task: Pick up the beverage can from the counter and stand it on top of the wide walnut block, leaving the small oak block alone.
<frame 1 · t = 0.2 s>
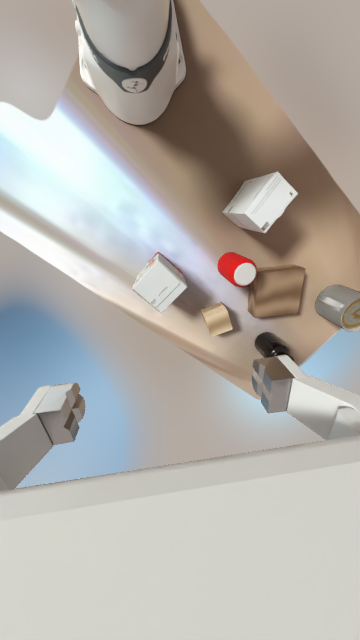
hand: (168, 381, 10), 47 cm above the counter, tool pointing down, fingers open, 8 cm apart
skincare box: (241, 206, 51), on the counter
oak block: (213, 314, 62), on the counter
beverage can: (227, 263, 56), on the counter
coffee mug: (327, 298, 63), on the counter
ink box: (159, 274, 56), on the counter
supplement bottle: (264, 340, 68), on the counter
walnut block: (269, 288, 60), on the counter
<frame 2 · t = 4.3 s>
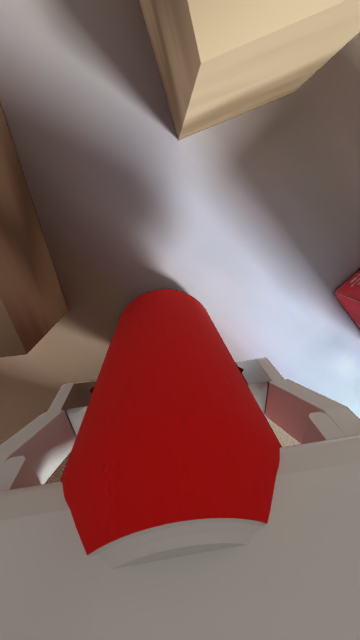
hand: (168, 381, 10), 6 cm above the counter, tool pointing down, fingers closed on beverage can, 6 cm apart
oak block: (219, 32, 9), on the counter
beverage can: (164, 325, 15), on the counter, touching gripper
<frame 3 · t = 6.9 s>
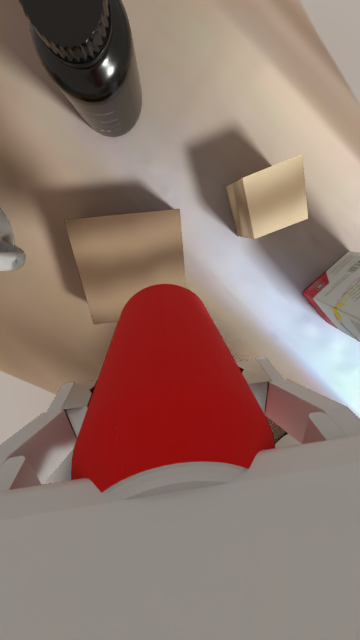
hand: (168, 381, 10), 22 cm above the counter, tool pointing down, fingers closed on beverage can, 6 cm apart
oak block: (254, 203, 28), on the counter
beverage can: (164, 318, 16), point 16 cm above the counter, touching gripper
ink box: (337, 289, 34), on the counter
supplement bottle: (109, 99, 23), on the counter
walnut block: (137, 264, 29), on the counter
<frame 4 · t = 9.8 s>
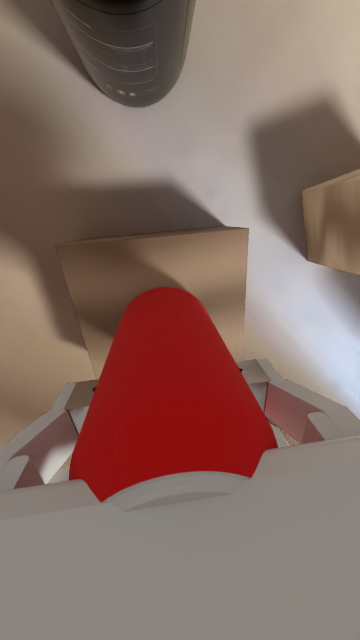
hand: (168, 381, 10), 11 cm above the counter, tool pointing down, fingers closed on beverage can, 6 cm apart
oak block: (337, 215, 19), on the counter
beverage can: (164, 322, 16), point 5 cm above the counter, touching gripper, walnut block
supplement bottle: (131, 42, 13), on the counter
walnut block: (163, 300, 20), on the counter
when the fingers open (11 cm above the counter, at t = 10.2 s): beverage can stays where it is, resting on walnut block.
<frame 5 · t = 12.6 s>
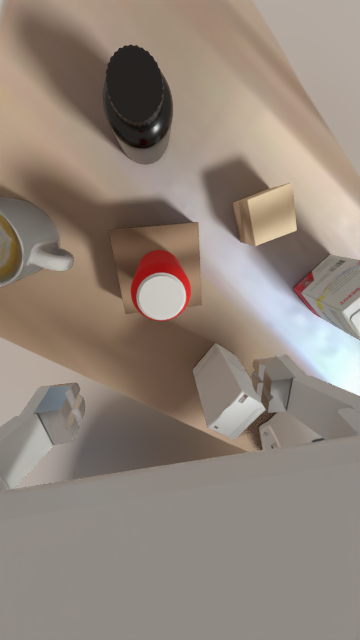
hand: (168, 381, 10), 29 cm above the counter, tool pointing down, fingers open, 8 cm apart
skincare box: (213, 360, 46), on the counter
oak block: (254, 216, 34), on the counter
beverage can: (159, 270, 31), point 5 cm above the counter, touching walnut block
coffee mug: (36, 243, 33), on the counter
ink box: (321, 285, 41), on the counter
supplement bottle: (143, 135, 29), on the counter
walnut block: (158, 264, 36), on the counter
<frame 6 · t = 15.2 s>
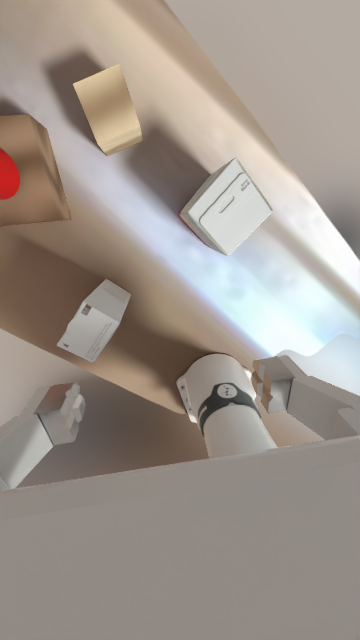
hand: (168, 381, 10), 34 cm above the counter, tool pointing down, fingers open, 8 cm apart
skincare box: (109, 300, 43), on the counter
oak block: (116, 125, 32), on the counter
beverage can: (0, 174, 29), point 5 cm above the counter, touching walnut block
ink box: (210, 213, 39), on the counter
walnut block: (20, 180, 34), on the counter
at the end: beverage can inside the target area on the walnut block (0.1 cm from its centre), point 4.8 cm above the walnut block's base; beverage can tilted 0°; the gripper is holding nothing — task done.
